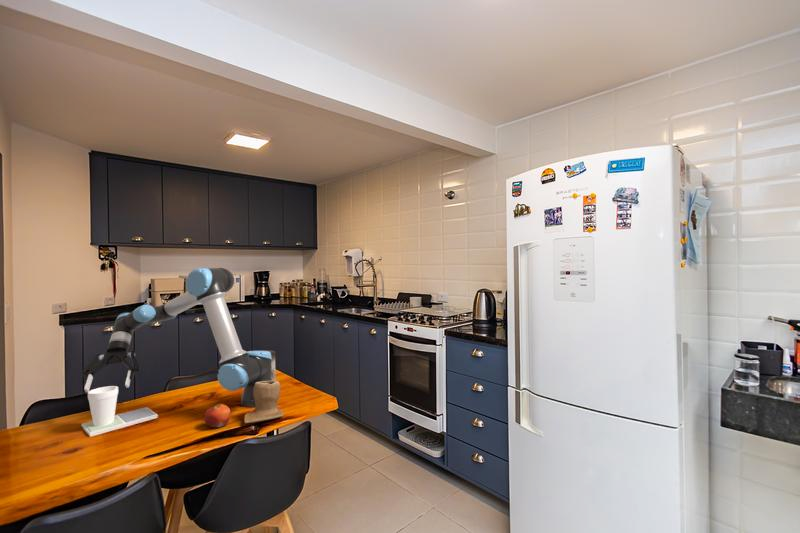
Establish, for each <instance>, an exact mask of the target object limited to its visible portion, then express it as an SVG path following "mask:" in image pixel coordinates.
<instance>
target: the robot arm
mask: <svg viewBox="0 0 800 533" xmlns="http://www.w3.org/2000/svg"><path fill="white" fill-rule="evenodd" d="M234 285H235V277H234V275H233V273H232V272H231V271H230V270H229V269H226V268H223V267H199V268H195V269H193V270H191V271H190V272H189V273H188V275H187V277H186V280H185V288H186V292H184V293H182V294H180V295H178V296H177V297H174V298H172V299H171V300H169V301H167V302H165V303H163V304H162V305H156V306H152V305H149V304H143V305H140V306H138V307H137V308H135V309H134V310H132V311H131V312H123V313H120V314H118V316H117V317H116V319H115V322H114V325H113V329H112V332H111V336H110V339H109V341H108V342H109V343H108V346H107V349H106V352H105V354H100V353H97V354H96V355H95V357H94V358H93V359H92V360H91V361H90V362H89V363H88V364H87V366H86V367H85V368H84V369H83V370H81V372H80V373H81V375H82V377H84V380H83V382H84V389H83V390H84V391H85V393H88V391H90V390H91V389H90V388H91V385H92V383H93V380H94V377H93V376H94V375H96V374H97V373H98V372H99V371H101V370H102V369H103V368H105V367H107V366H108V365H116V364H117V365H118V364H121V363H122V364H123V365H124V366H125V367H126V368H127V369H128V371H127V374H126V375H127V376H126V379H125V384H124V386H125V387H126V389H127V388H130V384H131V380H134V378H135V374H136V373H137V372H141V370H142V369H141V367H140V364H139V361H138V360H137V358H136V353H135V351H134V350H131V351H130V352H128V351H129V349H130V344H131V341H132V337H133V334H134V332H135V330H137V329H138V328H140V327H142V326H143V325H147V324H148V325H149V324H152V323H153V324H154V323H158V322H159V323H160V322H167V321H170V320H174V319H175V318H176V317H177V316H178V314H181V313H183V312H185V311H187V310H189V309H191V308H193V307H195V306H197V305H203V309H204V311H205V313H206V314H205V315H206V318H207V320H208V322H209V326H210V328H211V329H210V330H211V332H212V335H213V338H214V339H215V343H216V346H217V349H218V352H219V354H220V360H219V361H218V364H219V366H220V367H219V369H218V371H217V372H218V373H217V375H216V376H217V380H218V383H219V385H220V386H221V387H222V388H223V389H225V390H227V391H231V392H234V391H239V390H241V389H242V390H243V391H242V394H241V397H240V404H241V406H243V407H247V408H248V407H249V408H252V407H253V408H254V407H255V400H254V395H253V389H254V385H255V383H256V382H261V381H272V368H271V360H272V358H271V353H270V352H269V350H249V351H246V350H244V349H243V347H242V345H241V342H240V339H239V336H238V334H237V331H236V328H235V324H234V322H233V320H232V316H231V313H230V311H229V308H228V306H227V302H226V300H225V297H226V296H227V292H229V291H231V289H232V288H233V287H234ZM128 357H129V358H131V360H132V361H133V364H134V366H132V364H131V363H130V362H128V360H126V359H127V358H128Z"/></svg>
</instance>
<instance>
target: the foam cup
mask: <svg viewBox="0 0 800 533" xmlns="http://www.w3.org/2000/svg"><path fill="white" fill-rule="evenodd" d="M118 395H119V386H117V385H108V386H102V387H97V388H94V389H90V390H89V391H88V392H87V400H88V403H89V409H90V413H91V419H92V420H91V421H93V424H94V426H103V425H107V424H110V423H112V422H114V416H115V415H116V409H117V408H116V407H117V402H118Z"/></svg>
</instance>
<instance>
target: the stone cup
mask: <svg viewBox="0 0 800 533" xmlns="http://www.w3.org/2000/svg"><path fill="white" fill-rule="evenodd" d="M280 394H281V383H280V382H279V381H278V380H275V381H261V382H256V383H255V385H254V389H253V395H254V400H255V408H254V410H253V411H250V412H247V413H245V415H244V419H243V420H244V424H252V423H258V422H259V423H260V422H264V421H269V420H274V419H278V418H281V417H283V416H284V411H283V410H282V409H281V408H278V401H279V398H280Z"/></svg>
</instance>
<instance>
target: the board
mask: <svg viewBox="0 0 800 533" xmlns="http://www.w3.org/2000/svg"><path fill="white" fill-rule="evenodd" d="M158 418H159V414H157V413H156V412H154V411H153V410H152V409H150V408H149V407H147V406H146V407H142V408H138V409H134V410H130V411H126V412H123V413H118V414H115V416H114V422H112V423H110V424H107V425H103V426H94V424H93V420H91V421H88V422H83V423H81V428H82V427H83V428H82V429H83V430H84V431H85V433H86V434H87V435H88V437H94V436H98V435H101V434H105V433H108V432H111V431H112V432H113V431H116V430H118V429H123V428H126V427H129V426H133V425H136V424H140V423H144V422H147V421H152V420H154V419H158Z"/></svg>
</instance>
